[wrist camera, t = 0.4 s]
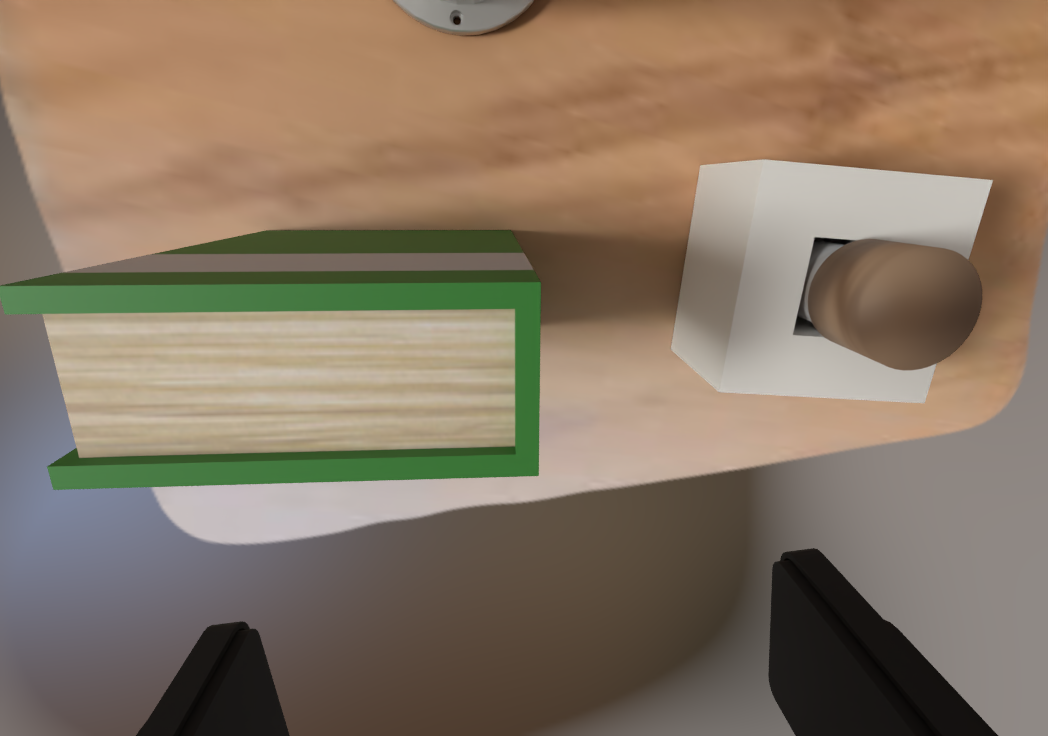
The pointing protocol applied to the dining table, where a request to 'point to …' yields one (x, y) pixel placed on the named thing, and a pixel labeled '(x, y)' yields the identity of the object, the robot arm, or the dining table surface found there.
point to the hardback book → (297, 360)
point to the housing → (801, 270)
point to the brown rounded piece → (891, 300)
